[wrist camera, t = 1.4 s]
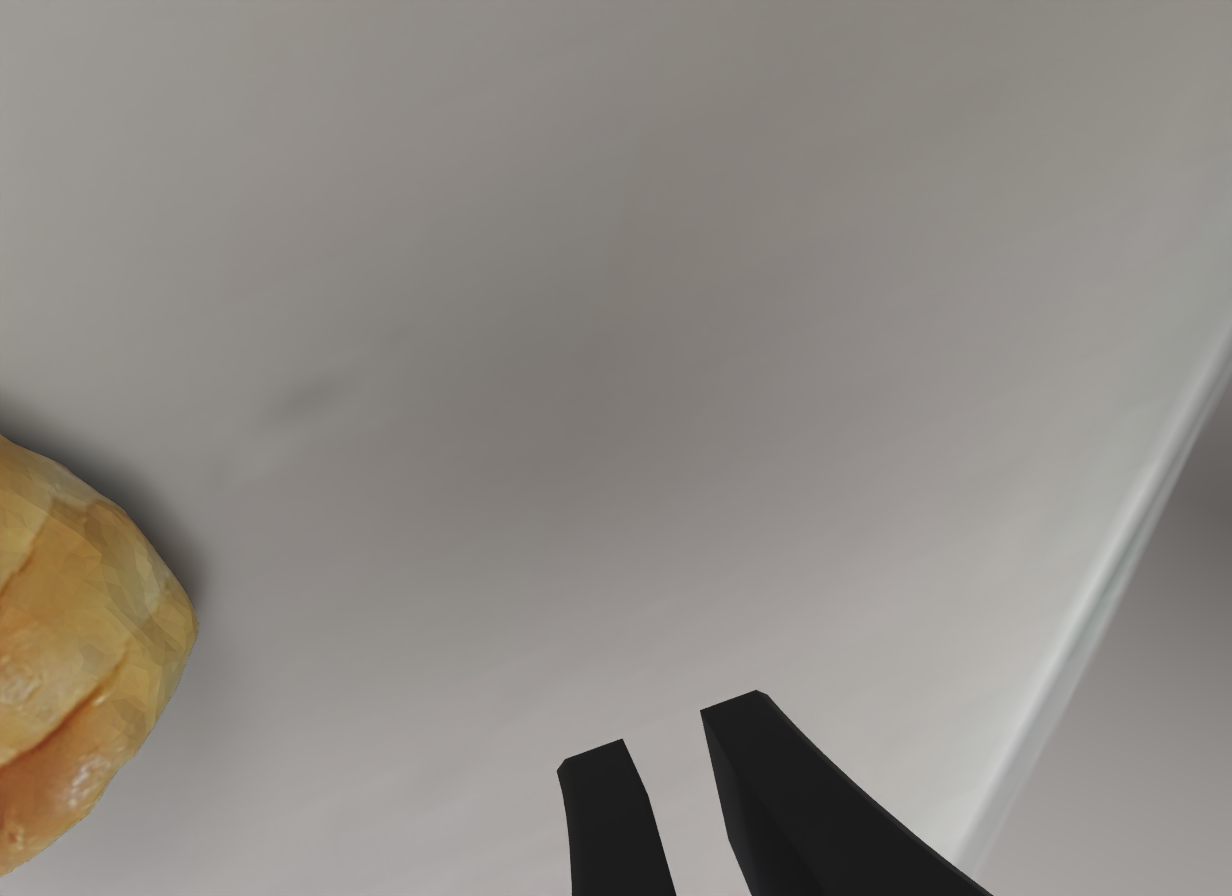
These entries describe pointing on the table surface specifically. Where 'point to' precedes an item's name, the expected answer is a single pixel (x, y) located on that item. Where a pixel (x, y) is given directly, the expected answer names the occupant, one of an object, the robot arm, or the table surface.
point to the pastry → (75, 647)
